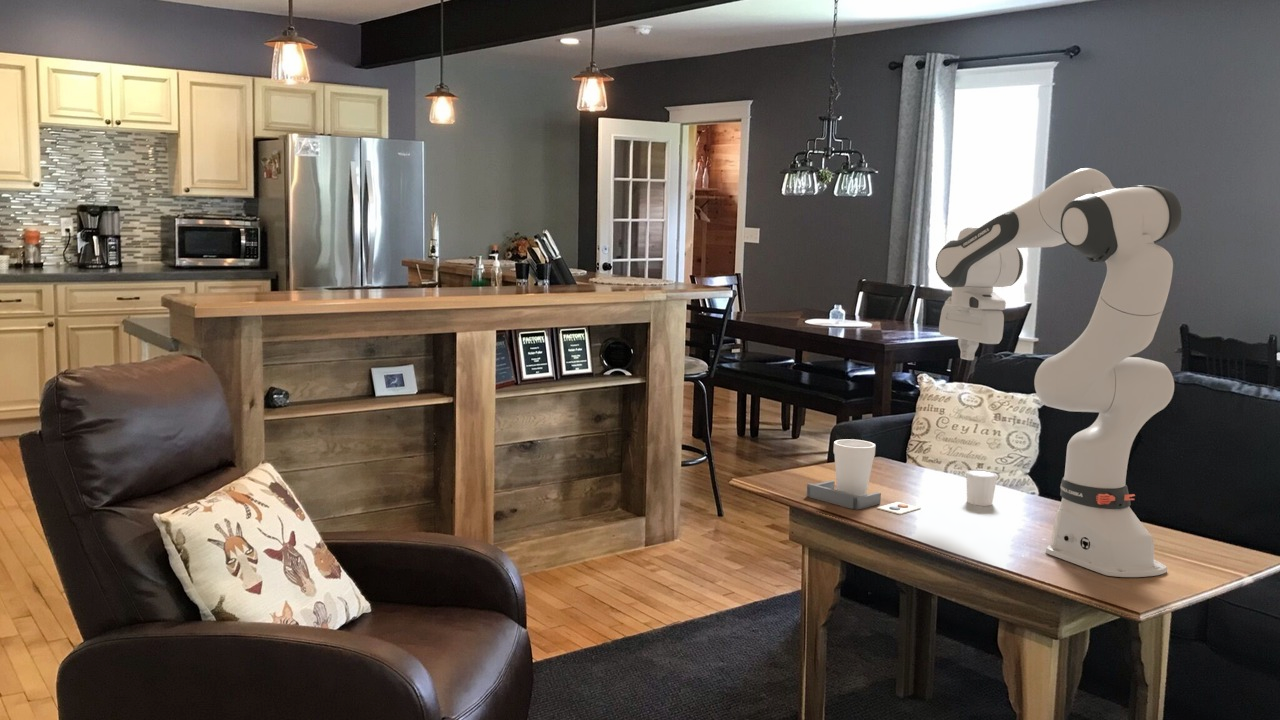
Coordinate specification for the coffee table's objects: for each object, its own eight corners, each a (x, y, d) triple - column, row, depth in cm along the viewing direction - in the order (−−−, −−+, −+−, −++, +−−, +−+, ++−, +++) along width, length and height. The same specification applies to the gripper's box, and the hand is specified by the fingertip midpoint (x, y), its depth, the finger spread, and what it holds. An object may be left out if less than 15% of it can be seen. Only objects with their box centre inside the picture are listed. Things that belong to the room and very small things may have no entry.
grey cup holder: (830, 490, 251) (831, 478, 250) (880, 503, 241) (881, 490, 240) (806, 496, 245) (807, 483, 244) (856, 510, 235) (857, 496, 234)
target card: (897, 503, 242) (897, 500, 242) (920, 508, 237) (920, 506, 237) (877, 508, 236) (877, 506, 236) (900, 514, 232) (900, 512, 232)
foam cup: (866, 494, 249) (869, 439, 247) (877, 504, 240) (880, 448, 238) (826, 493, 248) (829, 438, 247) (835, 504, 239) (839, 447, 237)
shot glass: (991, 499, 248) (993, 470, 247) (998, 507, 241) (1000, 477, 240) (961, 497, 248) (963, 468, 248) (967, 505, 242) (969, 475, 241)
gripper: (934, 295, 249) (930, 353, 251) (985, 302, 230) (980, 365, 232) (957, 295, 251) (953, 353, 253) (1010, 302, 232) (1005, 365, 233)
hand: (967, 359), depth 242 cm, fingers closed
